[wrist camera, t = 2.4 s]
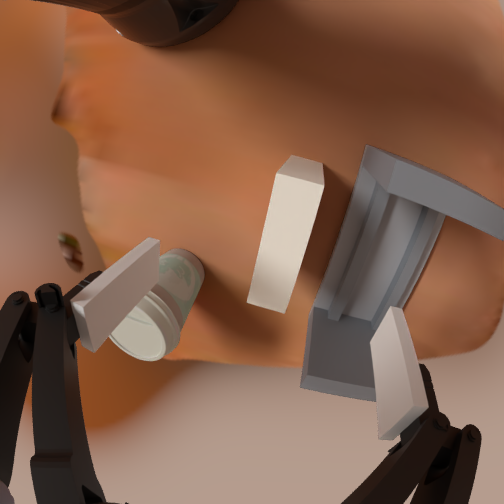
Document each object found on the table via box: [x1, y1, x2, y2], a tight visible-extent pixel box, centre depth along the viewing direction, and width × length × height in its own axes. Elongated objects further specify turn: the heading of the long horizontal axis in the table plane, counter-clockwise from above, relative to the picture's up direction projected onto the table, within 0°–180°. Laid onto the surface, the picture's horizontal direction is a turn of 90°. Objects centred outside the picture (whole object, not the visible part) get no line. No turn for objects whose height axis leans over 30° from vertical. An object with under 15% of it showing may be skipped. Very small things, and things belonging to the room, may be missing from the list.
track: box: [300, 144, 504, 402], centre depth 23 cm, size 20×10×11 cm, turn 169°
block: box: [247, 155, 324, 314], centre depth 23 cm, size 10×3×10 cm, turn 169°
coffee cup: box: [109, 249, 205, 361], centre depth 29 cm, size 9×8×12 cm
